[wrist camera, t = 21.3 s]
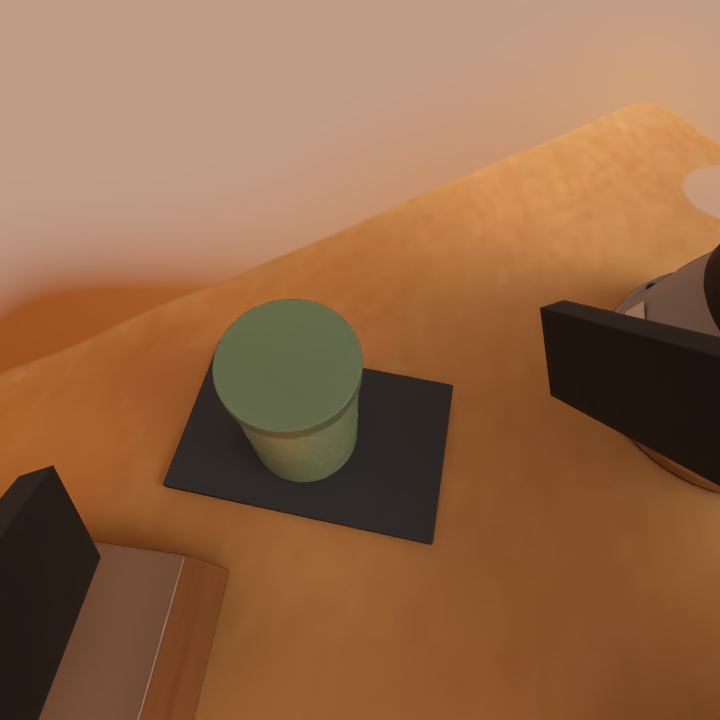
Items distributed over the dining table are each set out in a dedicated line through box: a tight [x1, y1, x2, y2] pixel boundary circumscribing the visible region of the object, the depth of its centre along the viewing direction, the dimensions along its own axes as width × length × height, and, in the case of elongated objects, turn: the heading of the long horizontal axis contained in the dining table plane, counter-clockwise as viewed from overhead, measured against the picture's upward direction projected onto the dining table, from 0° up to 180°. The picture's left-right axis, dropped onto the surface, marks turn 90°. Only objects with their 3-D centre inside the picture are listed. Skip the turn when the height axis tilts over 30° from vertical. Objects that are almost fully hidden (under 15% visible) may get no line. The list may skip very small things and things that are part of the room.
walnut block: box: [39, 541, 229, 720], centre depth 21 cm, size 10×10×8 cm
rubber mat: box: [163, 341, 453, 545], centre depth 30 cm, size 16×10×1 cm, turn 78°
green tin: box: [213, 299, 363, 482], centre depth 26 cm, size 7×7×10 cm
